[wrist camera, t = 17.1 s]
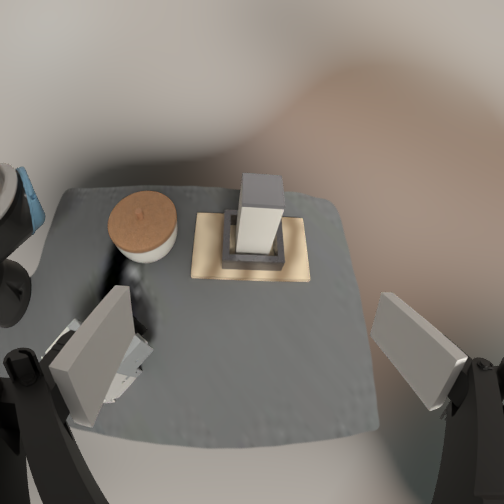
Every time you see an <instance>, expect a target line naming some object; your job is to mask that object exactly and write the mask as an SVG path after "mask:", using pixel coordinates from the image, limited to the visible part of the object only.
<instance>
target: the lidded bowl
mask: <svg viewBox="0 0 504 504" xmlns="http://www.w3.org/2000/svg"><path fill="white" fill-rule="evenodd" d="M108 232H109V235H110V238H111V239H112V241H113V242H114V244H115V245H116V246H117V248H118V249H119V250H120V251H121V252H122V253H123V254H124V255H125V256H126V257H127V258H129V259H131V260H133V261H135V262H139V263H151V262H155V261H157V260H159V259H161V258H163V257H164V256H165V255H167V254H168V253H169V251H170V250H171V249H172V247H173V245H174V243H175V241H176V237H177V214H176V209H175V206H174V204H173V202H172V201H171V200H170V199H169V198H168V197H167V196H165V195H163V194H161V193H159V192H155V191H141V192H136V193H133V194H131V195H129V196H127V197H125V198H124V199H122V200H121V201H120V202H119V203H118V204H117V205H116V206H115V207H114V209H113V210H112V212H111V214H110V217H109V220H108Z"/></svg>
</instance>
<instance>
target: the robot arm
mask: <svg viewBox="0 0 504 504" xmlns="http://www.w3.org/2000/svg"><path fill="white" fill-rule="evenodd" d="M44 221H45V213H44V211H43V209H42V206H41V204H40V202H39V200H38V198H37V196H36V194H35V191H34V189H33V187H32V184H31V182H30V179H29V178H28V175H27V172H26V170H25V168H24V167H19V168H17V169H14V168H13V167H12V166H11V165H9V164H6V163H1V164H0V327H3V328H8V327H11V326H13V325H15V324H16V323H17V322H18V321H19V320H20V319H21V318H22V316H23V315H24V313H25V311H26V309H27V307H28V304H29V300H30V295H31V282H30V277H29V275H28V273H27V271H26V270H25V269H24V268H23V267H22V266H21V265H20V264H19V263H17V262H15V261H12V260H8V259H6V258H7V257H8V256H9V255H10V254H11V253H12V252H14V251H15V250H16V249H17V248H18V247H19V246H20V245H21V244H22V243H23V242H25V241H26V240H27V239H28V238H29V237H30V236H31V235H33V234H34V233H35V231H36V230H37V229H38V228H39V227H40V226H41V225H42V224H43V223H44ZM134 335H135V329H134V322H133V315H132V307H131V299H130V289H129V286H119V285H115V286H114V287H113V288H112V290H111V291H110V292H109V293H108V294H107V295H106V296H105V297H104V299H103V300H102V301H101V302H100V303H99V304H98V306H97V307H96V308H95V309H94V310H93V311H92V313H91V314H90V315H89V316H88V317H87V319H86V320H85V321H84V322H83V323H82V325H81V326H80V327H79V328H78V329H77V331H74V330H70V331H68V332H66V333H65V334H63V335H62V336H61V337H60V338H59V339H58V340H57V342H56V344H54V345H53V346H52V348H51V350H49V351H48V352H47V354H46V355H45V356H44V357H43V359H42V360H41V361H40V362H38V359H37V357H36V355H35V353H34V351H33V350H31V349H29V348H18V349H15V350H12V351H11V352H9V353H8V354H7V355H6V356H5V358H4V361H3V364H4V366H5V368H6V370H7V373H8V375H9V377H10V378H2V377H0V504H30V497H29V489H28V480H27V467H26V457H27V460H28V463H29V467H30V470H31V473H32V476H33V479H34V482H35V485H36V487H37V490H38V492H39V495H40V497H41V500H42V502H43V504H109V503H108V501H107V500H106V498H105V497H104V495H103V493H102V491H101V490H100V488H99V486H98V485H97V483H96V481H95V480H94V478H93V476H92V474H91V472H90V470H89V468H88V466H87V464H86V462H85V461H84V458H83V456H82V454H81V452H80V450H79V448H78V446H77V444H76V441H75V439H74V437H73V434H72V432H71V430H70V427H69V425H68V423H67V421H66V419H67V417H68V415H69V413H70V415H71V417H72V419H73V420H74V422H75V423H77V424H80V425H84V426H87V427H91V428H93V425H94V423H95V420H96V418H97V415H98V413H99V411H100V408H101V406H102V404H103V401H104V399H105V397H106V395H107V392H108V390H109V388H110V386H111V383H112V381H113V379H114V377H115V375H116V372H117V370H118V368H119V366H120V364H121V362H122V360H123V358H124V356H125V353H126V351H127V349H128V347H129V345H130V343H131V341H132V339H133V337H134ZM370 336H371V337H372V338H373V340H374V341H375V342H376V343H377V345H378V346H379V347H380V348H381V350H382V351H383V352H384V353H385V355H386V356H387V357H388V358H389V360H390V361H391V362H392V363H393V364H394V366H395V367H396V368H397V370H398V371H399V372H400V373H401V375H402V376H403V377H404V379H405V380H406V381H407V382H408V384H409V385H410V386H411V387H412V389H413V390H414V391H415V393H416V394H417V395H418V396H419V398H420V399H421V400H422V402H423V403H424V404H425V406H426V407H427V408H428V410H429V411H431V410H433V409H436V408H438V407H441V406H442V404H443V403H444V401H445V399H446V398H447V396H448V397H449V399H450V400H451V401H450V402H449V404H448V406H447V407H446V409H445V410H444V412H443V414H442V415H441V417H440V419H442V418H443V417H444V415H446V414H447V417H446V418H445V420H446V430H445V438H444V446H443V452H442V459H441V464H440V470H439V474H438V480H437V484H436V488H435V492H434V496H433V500H432V503H431V504H504V405H503V403H502V401H503V400H504V358H503V359H502V361H501V363H500V365H499V366H493V364H492V363H491V362H490V361H488V360H486V359H484V358H474V359H473V360H472V359H471V358H470V357H469V356H468V355H467V354H466V353H465V352H463V351H462V350H461V349H460V348H459V347H458V346H456V345H455V344H454V343H453V342H452V341H451V340H450V339H449V338H448V337H446V336H445V335H444V334H442V333H441V332H440V331H438V330H437V329H436V328H435V327H434V326H433V325H431V324H430V323H429V322H428V321H427V320H425V319H424V318H423V317H422V316H420V314H418V313H417V312H416V311H415V310H413V309H412V308H411V307H410V306H408V305H407V304H406V303H405V302H404V301H402V300H401V299H400V298H399V297H397V296H396V295H395V294H394V293H392V292H388V293H381V296H380V300H379V304H378V308H377V312H376V316H375V319H374V323H373V326H372V330H371V333H370Z"/></svg>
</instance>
